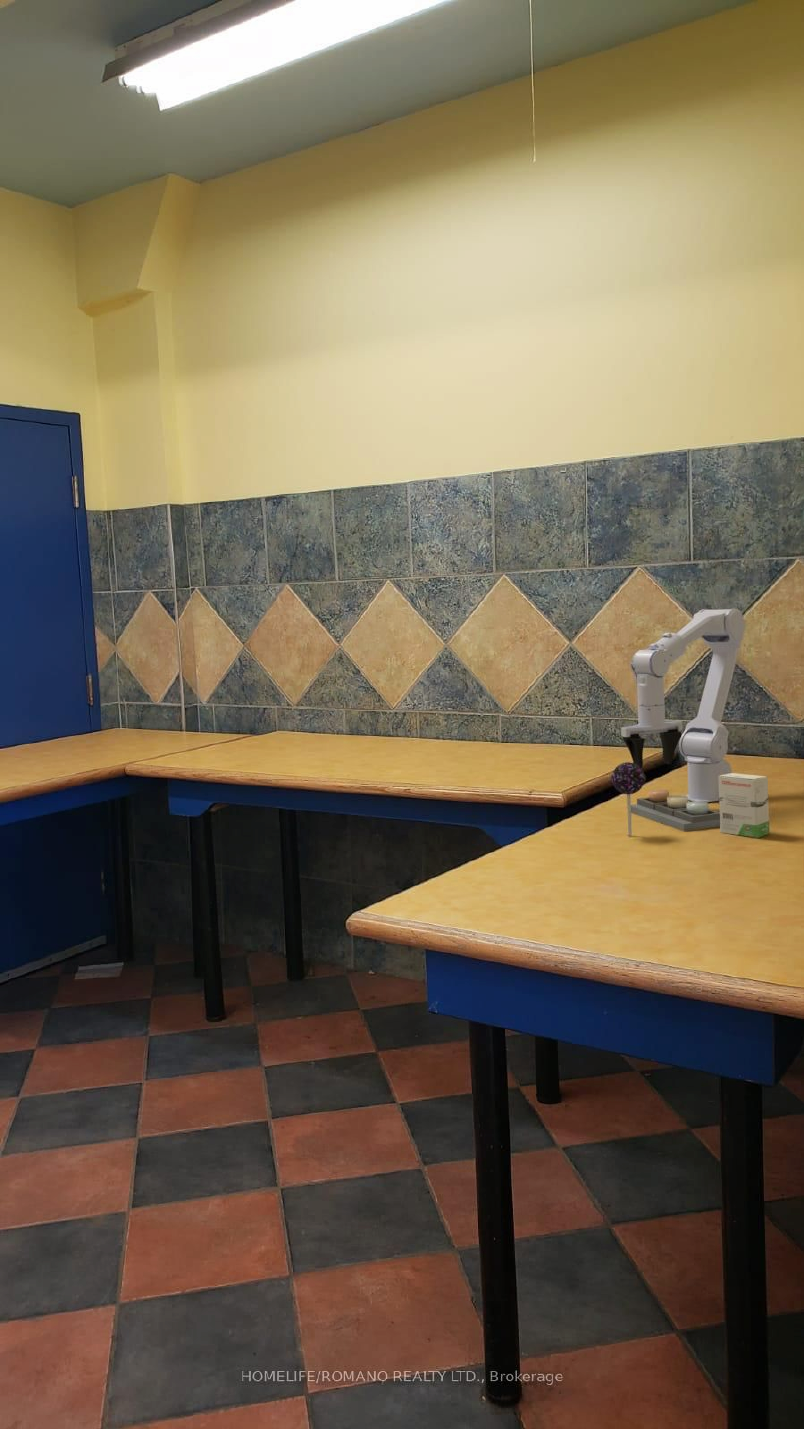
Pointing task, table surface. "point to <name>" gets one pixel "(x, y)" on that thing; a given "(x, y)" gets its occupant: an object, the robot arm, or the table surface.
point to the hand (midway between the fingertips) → (653, 765)
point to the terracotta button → (658, 795)
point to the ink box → (744, 805)
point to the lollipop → (628, 783)
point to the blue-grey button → (697, 807)
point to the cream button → (677, 801)
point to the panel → (675, 815)
